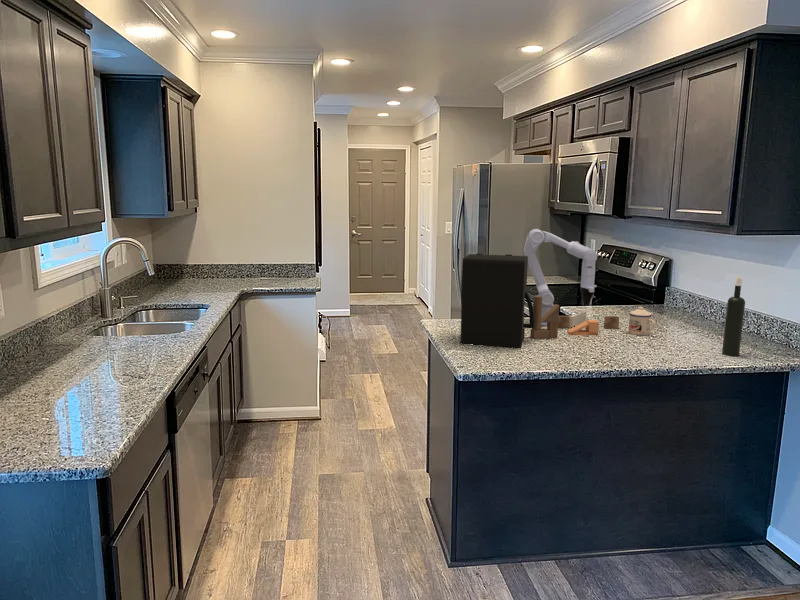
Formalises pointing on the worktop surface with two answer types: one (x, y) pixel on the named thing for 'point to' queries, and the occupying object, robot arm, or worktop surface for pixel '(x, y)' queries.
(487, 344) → the black upright box
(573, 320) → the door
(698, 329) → the worktop surface
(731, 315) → the wine bottle
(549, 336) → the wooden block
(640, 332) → the teacup with lid
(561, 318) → the brown rectangular block
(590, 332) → the wedge
